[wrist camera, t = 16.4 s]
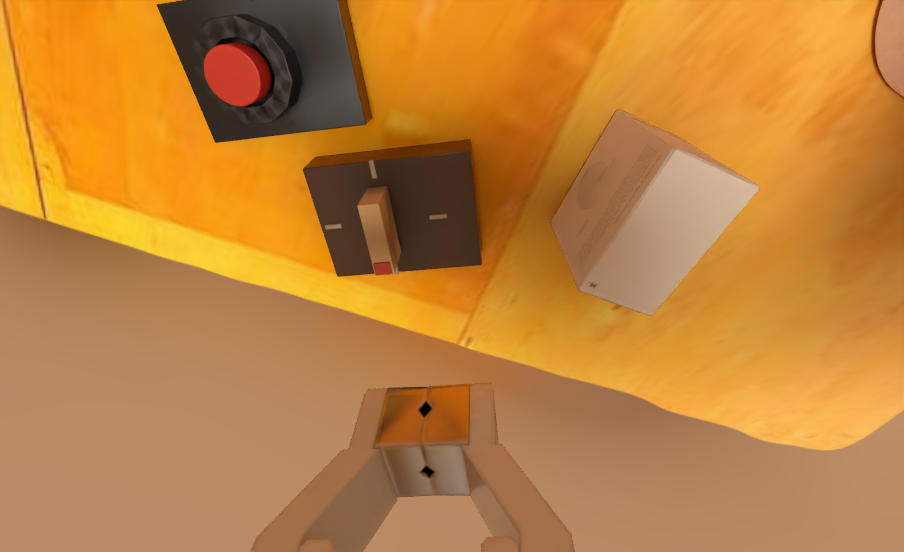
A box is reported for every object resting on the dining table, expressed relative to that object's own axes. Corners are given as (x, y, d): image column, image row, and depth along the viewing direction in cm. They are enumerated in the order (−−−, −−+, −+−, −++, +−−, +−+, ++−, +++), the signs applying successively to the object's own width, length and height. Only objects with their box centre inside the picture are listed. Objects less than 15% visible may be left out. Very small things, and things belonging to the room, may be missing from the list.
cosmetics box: (611, 248, 38) (653, 321, 29) (549, 222, 37) (572, 290, 28) (688, 139, 32) (767, 189, 24) (617, 106, 31) (672, 145, 23)
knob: (367, 187, 33) (355, 206, 29) (387, 185, 32) (378, 204, 29) (383, 253, 36) (374, 277, 33) (401, 252, 36) (394, 276, 33)
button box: (341, -22, 28) (323, -26, 24) (372, 117, 33) (360, 130, 29) (176, 4, 29) (137, 4, 26) (229, 135, 34) (202, 149, 31)
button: (260, 38, 27) (247, 40, 25) (279, 98, 29) (268, 103, 27) (208, 46, 27) (192, 48, 26) (230, 104, 29) (217, 109, 28)
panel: (470, 138, 33) (470, 149, 31) (481, 249, 39) (481, 267, 36) (314, 155, 35) (300, 168, 32) (346, 260, 40) (337, 279, 37)
